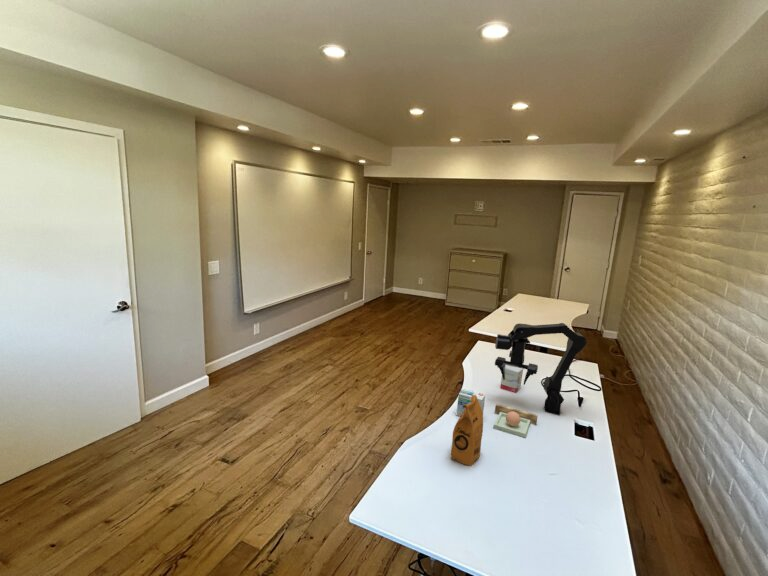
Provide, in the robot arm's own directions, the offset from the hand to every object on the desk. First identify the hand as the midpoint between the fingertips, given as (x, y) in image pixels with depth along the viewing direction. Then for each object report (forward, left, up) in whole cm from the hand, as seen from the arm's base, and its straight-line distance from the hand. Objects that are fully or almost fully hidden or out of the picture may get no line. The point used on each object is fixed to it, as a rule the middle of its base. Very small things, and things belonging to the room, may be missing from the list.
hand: (514, 382), depth 182 cm
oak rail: (-4, +12, -12) cm, 17 cm away
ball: (-4, +20, -12) cm, 23 cm away
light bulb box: (+14, +22, -12) cm, 29 cm away
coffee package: (+7, +52, -12) cm, 54 cm away
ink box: (+4, -20, -12) cm, 24 cm away
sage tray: (-4, +20, -12) cm, 23 cm away
